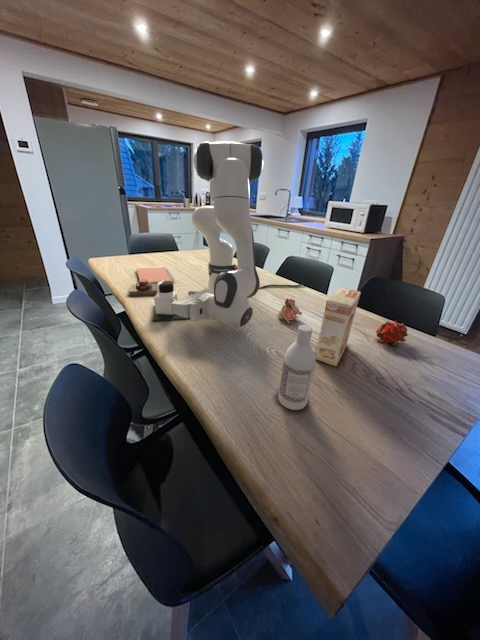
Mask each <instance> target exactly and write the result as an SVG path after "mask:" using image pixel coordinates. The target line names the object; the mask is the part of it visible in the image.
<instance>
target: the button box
mask: <svg viewBox="0 0 480 640" xmlns="http://www.w3.org/2000/svg"><path fill="white" fill-rule="evenodd" d="M128 293H129V296H130V297H139V296H156V295H157V294H158V290H157V284H151V282H148V285H139V281H137V282H136V283H133V284H131V285H130V288H129V290H128Z"/></svg>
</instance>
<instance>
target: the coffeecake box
mask: <svg viewBox="0 0 480 640" xmlns="http://www.w3.org/2000/svg"><path fill="white" fill-rule="evenodd" d="M361 294H362V292H361V291H359V290H354V289H350V288H345V287H337V289H336V290H334V292H333V293H332V294H331V295H330V296H329V298H327V300H326V303H325V308H324V313H323V316H322V322H321V326H320V331H319V335H318V338H317V339H318V340H317V344H316V349H315V352H314V354H315V360H317V361H320V362H323V363H324V364H328V365H331V366H334V367H337V366H338V364H339V362H340V360H341V358H342V356H343V354H344V352H345V350H346V347H347V345H348V342H349V341H348V340H349V337H350V333H351V330H352V326H353V323H354V322H353V321H354V319H355V315H356V311H357V307H358V304H359V301H360V297H361Z"/></svg>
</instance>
